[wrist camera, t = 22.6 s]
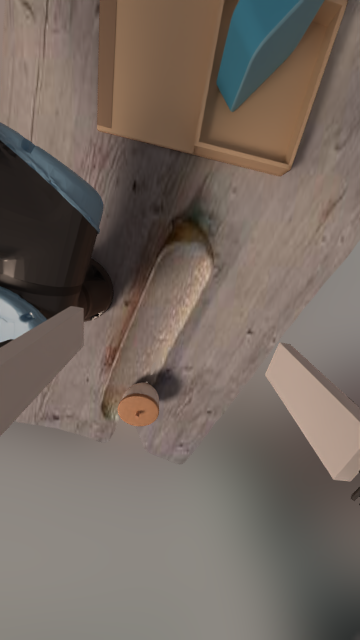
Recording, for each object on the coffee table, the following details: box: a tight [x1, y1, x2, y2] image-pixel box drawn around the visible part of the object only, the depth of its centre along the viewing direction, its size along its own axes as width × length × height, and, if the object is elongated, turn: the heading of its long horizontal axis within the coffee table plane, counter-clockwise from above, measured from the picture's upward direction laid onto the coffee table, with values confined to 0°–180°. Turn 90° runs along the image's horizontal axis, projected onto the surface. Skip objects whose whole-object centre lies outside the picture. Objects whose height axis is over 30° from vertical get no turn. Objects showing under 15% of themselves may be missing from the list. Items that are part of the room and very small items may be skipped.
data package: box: [216, 0, 324, 112], centre depth 25 cm, size 12×4×12 cm, turn 129°
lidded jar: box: [118, 382, 159, 426], centre depth 52 cm, size 11×11×9 cm
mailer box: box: [97, 0, 348, 176], centre depth 29 cm, size 34×19×4 cm, turn 79°
